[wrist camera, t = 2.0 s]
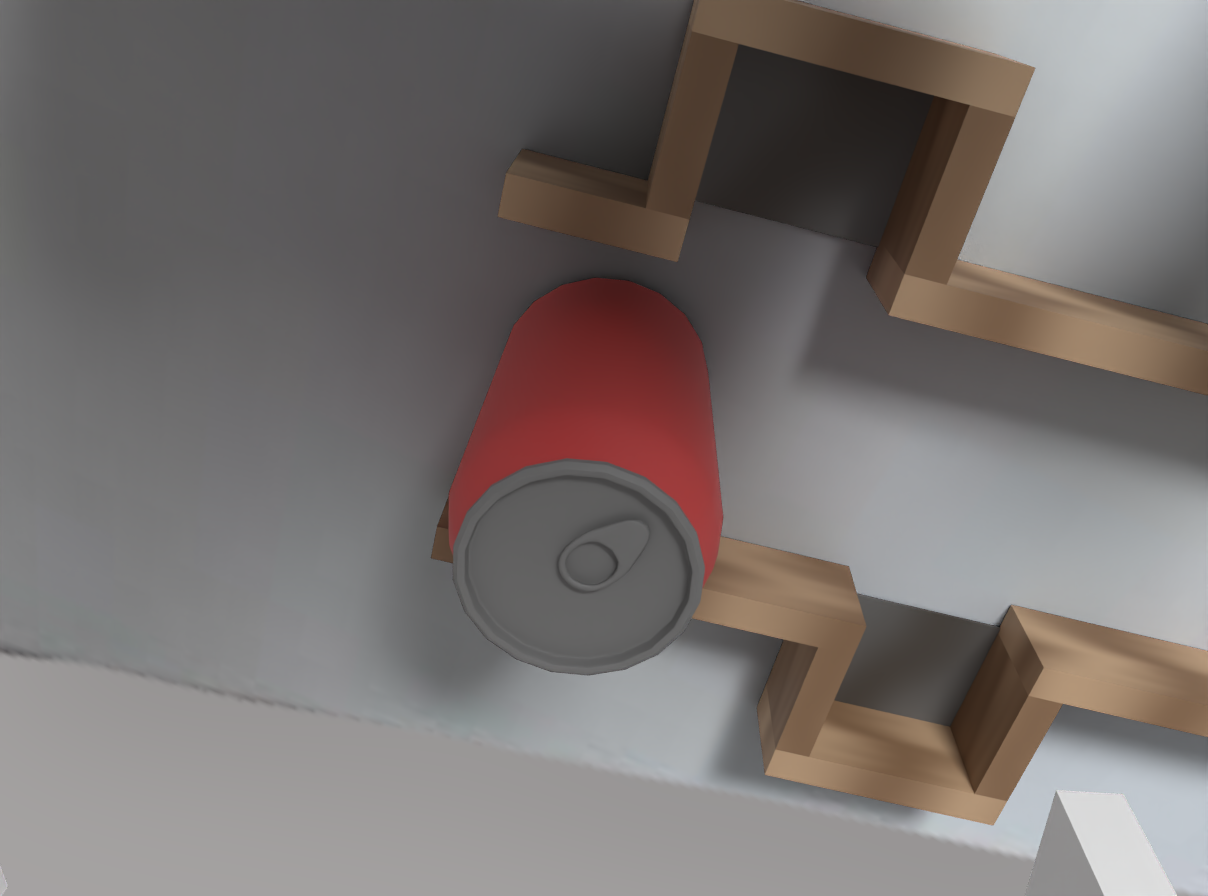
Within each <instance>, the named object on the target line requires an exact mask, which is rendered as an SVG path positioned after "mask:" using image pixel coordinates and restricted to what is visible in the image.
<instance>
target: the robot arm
mask: <svg viewBox="0 0 1208 896" xmlns="http://www.w3.org/2000/svg"><path fill="white" fill-rule="evenodd" d="M7 888H8V885H7V882H6V880H5V877H4V874H3V871H2V868H1V865H0V896H2V895H3V893H4V892H5V890H6V889H7ZM1025 896H1177V894H1176V892H1175V891H1174V889H1173V887H1172V885H1171V883H1170V881H1169V879H1168V877H1167V875H1166V874H1165V872H1164V870H1163V868H1162V866H1161V864H1160V862H1159V860H1158V858H1157V857H1156V855H1155V853H1154V851H1153V849H1152V847H1151V845H1150V843H1149V841H1148V840H1147V838H1146V836H1145V834H1144V832H1143V830H1142V828H1141V826H1140V824H1139V823H1138V821H1137V819H1136V817H1135V815H1134V813H1133V811H1132V809H1131V807H1130V806H1129V804H1128V802H1127V800H1126V798H1125V796H1124V794H1114V793H1097V792H1079V791H1062V790H1056V793H1055V796H1054V799H1053V803H1052V806H1051V809H1050V813H1049V816H1048V819H1047V823H1046V826H1045V829H1044V833H1043V836H1042V839H1041V843H1040V846H1039V849H1038V853H1037V856H1036V859H1035V863H1034V866H1033V869H1032V873H1031V876H1030V879H1029V883H1028V886H1027V889H1026V893H1025Z"/></svg>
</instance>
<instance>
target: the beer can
mask: <svg viewBox="0 0 1208 896" xmlns="http://www.w3.org/2000/svg"><path fill="white" fill-rule="evenodd" d="M722 523H723V510H722V501H721V491H720V482H719V472H718V462H717V453H716V443H715V434H714V424H713V414H712V405H711V395H710V386H709V376H708V369H707V365H706V360H705V355H704V351H703V346H702V342H701V340H700V339H699V337H698V335H697V334H696V332H695V330H694V329H693V327H692V325H691V324H690V322H689V320H688V319H687V317H686V315H685V314H684V313H682V312H681V311H680V310H679V309H678V308H677V307H675V306H674V305H673V304H672V303H671V302H669V301H668V300H667V299H666V298H665V297H664V296H662V295H661V294H660V293H658V292H655V291H653V290H650V289H648V288H645V287H643V286H641V285H638V284H636V283H633V282H631V281H627V280H616V279H605V278H591V279H587V280H582V281H578V282H573V283H569V284H564V285H561V286H560V287H558V288H556V289H555V290H553V291H551V292H549V293H548V294H546V295H544V296H543V297H541V298H539V299H538V300H536V301H534V302H533V303H532V305H531V306H530V307H529V308H528V309H527V310H526V312H525V313H524V314H523V315H522V316H521V317H520V319H519V320H518V321H517V322H516V323H515V324H514V326H513V328H512V331H511V333H510V336H509V338H508V341H507V344H506V346H505V349H504V351H503V354H502V356H501V359H500V361H499V364H498V367H497V369H496V372H495V374H494V377H493V380H492V382H491V385H490V387H489V390H488V393H487V395H486V398H485V400H484V403H483V406H482V408H481V411H480V413H479V416H478V418H477V421H476V424H475V426H474V429H473V431H472V434H471V437H470V439H469V442H468V444H467V447H466V450H465V452H464V455H463V457H462V460H461V463H460V465H459V468H458V470H457V473H456V476H455V478H454V481H453V483H452V486H451V488H450V491H449V546H450V549H451V551H452V554H453V581H454V584H455V587H456V589H457V592H458V595H459V598H460V600H461V603H462V606H463V609H464V611H465V612H466V614H467V615H468V616H469V617H470V619H471V620H472V621H473V622H474V624H475V625H476V626H477V627H478V629H479V630H480V631H481V632H482V634H483V635H484V636H485V637H486V639H488V640H489V641H491V642H492V643H494V644H495V645H496V646H498V647H499V648H501V649H502V650H504V651H505V652H506V653H508V654H509V655H511V656H512V657H514V658H515V659H517V660H520V661H522V662H525V663H528V664H531V665H534V666H536V667H539V668H542V669H545V670H548V671H550V672H558V673H569V674H580V675H594V674H600V673H607V672H613V671H619V670H625V669H628V668H630V667H632V666H634V665H636V664H638V663H641V662H643V661H645V660H647V659H649V658H652V657H654V656H656V655H658V654H659V653H660V652H662V651H663V650H664V649H665V648H666V647H667V646H668V645H669V644H670V643H672V642H673V641H674V640H675V639H676V638H677V637H678V636H679V635H681V634H682V633H683V632H684V631H685V629H686V627H687V625H688V623H689V622H690V620H691V618H692V616H693V614H694V613H695V611H696V609H697V607H698V605H699V604H700V601H701V594H702V588H703V587H704V585H705V583H706V581H707V579H708V578H709V576H710V574H711V572H712V570H713V568H714V565H715V562H716V559H717V556H718V550H719V543H720V536H721V530H722Z"/></svg>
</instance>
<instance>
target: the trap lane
mask: <svg viewBox="0 0 1208 896" xmlns="http://www.w3.org/2000/svg"><path fill="white" fill-rule="evenodd" d="M1034 70H1035V68H1034V67H1031V66H1029V65H1026V64H1023V63H1020V62H1017V61H1014V60H1011V59H1009V58H1006V57H1003V56H1000V55H997V54H994V53H990V52H987V51H983V50H979V49H976V48H972V47H968V46H964V45H961V44H957V43H953V42H950V41H946V40H942V39H938V38H935V37H931V36H927V35H923V34H920V33H916V32H912V31H909V30H905V29H901V28H897V27H894V26H890V25H886V24H883V23H879V22H875V21H871V20H868V19H864V18H860V17H857V16H853V15H849V14H845V13H842V12H838V11H834V10H831V9H827V8H823V7H819V6H816V5H812V4H808V3H805V2H801V1H797V0H694V3H693V7H692V10H691V14H690V18H689V22H688V26H687V30H686V34H685V38H684V41H683V45H682V49H681V53H680V57H679V61H678V65H677V69H676V72H675V76H674V80H673V84H672V88H671V92H670V96H669V100H668V103H667V107H666V111H665V115H664V119H663V123H662V127H661V131H660V134H659V138H658V142H657V146H656V150H655V154H654V158H653V162H652V166H651V169H650V173H649V177H648V181H647V180H643V179H639V178H635V177H632V176H628V175H624V174H620V173H616V172H612V171H608V170H604V169H600V168H596V167H592V166H589V165H585V164H581V163H577V162H573V161H569V160H565V159H561V158H557V157H553V156H549V155H546V154H542V153H538V152H534V151H530V150H526V149H522V150H521V151H520V153H519V154H518V156H517V157H516V159H515V160H514V162H513V163H512V165H511V166H510V168H509V169H508V171H507V172H506V176H505V181H504V186H503V191H502V196H501V201H500V206H499V212H498V217H500V218H504V219H508V220H512V221H516V222H520V223H524V224H528V225H532V226H536V227H540V228H543V229H547V230H551V231H555V232H559V233H563V234H567V235H571V236H575V237H579V238H583V239H587V240H591V241H595V242H599V243H603V244H607V245H611V246H615V247H619V248H623V249H627V250H631V251H635V252H639V253H643V254H647V255H651V256H655V257H659V258H663V259H667V260H671V261H675V262H678V259H679V255H680V252H681V248H682V244H683V241H684V237H685V234H686V230H687V227H688V223H689V220H690V216H691V212H692V209H693V205H694V202H695V201H699V202H703V203H707V204H711V205H715V206H718V207H722V208H726V209H730V210H734V211H738V212H742V213H746V214H750V215H754V216H758V217H762V218H765V219H769V220H773V221H777V222H781V223H785V224H789V225H793V226H797V227H801V228H805V229H809V230H812V231H816V232H820V233H824V234H828V235H832V236H836V237H840V238H844V239H848V240H852V241H856V242H859V243H863V244H867V245H871V246H875V247H877V249H876V252H875V255H874V257H873V260H872V263H871V266H870V268H869V271H868V274H867V276H866V278H867V280H868V282H869V283H870V285H871V287H872V288H873V290H874V292H875V293H876V295H877V297H878V298H879V300H880V302H881V303H882V305H883V307H884V308H885V310H886V312H887V313H888V315H890V316H894V317H898V318H902V319H905V320H909V321H913V322H917V323H921V324H925V325H929V326H933V327H937V328H941V329H945V330H949V331H953V332H957V333H961V334H965V335H969V336H973V337H977V338H981V339H985V340H989V341H993V342H997V343H1001V344H1005V345H1009V346H1013V347H1017V348H1021V349H1025V350H1029V351H1033V352H1037V353H1041V354H1045V355H1049V356H1053V357H1057V358H1061V359H1065V360H1069V361H1073V362H1077V363H1081V364H1084V365H1088V366H1092V367H1096V368H1100V369H1104V370H1108V371H1112V372H1116V373H1120V374H1124V375H1128V376H1132V377H1136V378H1140V379H1144V380H1148V381H1152V382H1156V383H1160V384H1164V385H1168V386H1172V387H1176V388H1180V389H1184V390H1188V391H1192V392H1196V393H1200V394H1204V395H1208V324H1206V323H1202V322H1198V321H1194V320H1191V319H1187V318H1183V317H1179V316H1175V315H1171V314H1167V313H1163V312H1159V311H1155V310H1151V309H1148V308H1144V307H1140V306H1136V305H1132V304H1128V303H1124V302H1120V301H1116V300H1112V299H1108V298H1105V297H1101V296H1097V295H1093V294H1089V293H1085V292H1081V291H1077V290H1073V289H1069V288H1065V287H1062V286H1058V285H1054V284H1050V283H1046V282H1042V281H1038V280H1034V279H1030V278H1026V277H1022V276H1019V275H1015V274H1011V273H1007V272H1003V271H999V270H995V269H991V268H987V267H983V266H979V265H976V264H972V263H968V262H964V261H960V260H957V259H958V256H959V254H960V251H961V249H962V246H963V244H964V242H965V239H966V237H967V234H968V232H969V229H970V227H971V224H972V222H973V219H974V217H975V215H976V212H977V210H978V207H979V205H980V202H981V200H982V197H983V195H984V193H985V190H986V188H987V185H988V183H989V180H990V178H991V175H992V173H993V171H994V168H995V166H996V163H997V161H998V158H999V156H1000V153H1001V151H1002V148H1003V146H1004V144H1005V141H1006V139H1007V136H1008V134H1009V131H1010V129H1011V126H1012V124H1013V122H1014V119H1015V117H1016V114H1017V112H1018V109H1019V107H1020V104H1021V102H1022V99H1023V97H1024V95H1025V92H1026V90H1027V87H1028V85H1029V82H1030V80H1031V77H1032V75H1033V73H1034ZM431 558H432V559H437V560H441V561H445V562H450V563H453V554H452V551H451V549H450V546H449V497H448V499H447V502H446V505H445V507H444V510H443V512H442V515H441V518H440V520H439V523H438V526H437V529H436V535H435V540H434V545H433V550H432V555H431ZM692 618H693V619H697V620H701V621H706V622H710V623H715V624H719V625H723V626H728V627H732V628H736V629H741V630H745V631H749V632H754V633H758V634H762V635H767V636H771V637H775V638H780V639H784V640H783V643H782V645H781V648H780V650H779V653H778V655H777V658H776V660H775V663H774V665H773V668H772V670H771V673H770V675H769V678H768V680H767V683H766V685H765V688H764V690H763V693H762V695H761V698H760V700H759V703H758V706H757V714H758V722H759V731H760V739H761V747H762V755H763V763H764V772H765V775H768V776H773V777H777V778H782V779H786V780H791V781H795V782H800V783H804V784H809V785H813V786H818V787H822V788H827V789H831V790H836V791H840V792H845V793H849V794H854V795H858V796H863V797H867V798H872V799H876V800H881V801H885V802H890V803H894V804H899V805H903V806H908V807H912V808H917V809H921V810H926V811H930V812H935V813H939V814H944V815H948V816H953V817H957V818H962V819H966V820H971V821H975V822H980V823H984V824H989V825H994V823H995V822H996V820H997V818H998V816H999V815H1000V813H1001V811H1002V809H1003V808H1004V806H1005V804H1006V802H1007V801H1008V799H1009V797H1010V795H1011V794H1012V792H1013V790H1014V788H1015V787H1016V785H1017V783H1018V781H1019V780H1020V778H1021V776H1022V774H1023V773H1024V771H1025V769H1026V767H1027V766H1028V764H1029V762H1030V760H1031V759H1032V757H1033V755H1034V753H1035V752H1036V750H1037V748H1038V747H1039V745H1040V743H1041V741H1042V740H1043V738H1044V736H1045V734H1046V733H1047V731H1048V729H1049V727H1050V726H1051V724H1052V722H1053V720H1054V719H1055V717H1056V715H1057V713H1058V712H1059V710H1060V708H1061V706H1062V705H1063V704H1066V705H1071V706H1075V707H1079V708H1084V709H1088V710H1092V711H1097V712H1101V713H1105V714H1110V715H1114V716H1118V717H1123V718H1127V719H1131V720H1136V721H1140V722H1144V723H1149V724H1153V725H1157V726H1162V727H1166V728H1170V729H1175V730H1179V731H1184V732H1188V733H1192V734H1197V735H1201V736H1205V737H1208V651H1205V650H1201V649H1197V648H1193V647H1188V646H1184V645H1180V644H1176V643H1171V642H1167V641H1163V640H1159V639H1154V638H1150V637H1146V636H1142V635H1137V634H1133V633H1129V632H1125V631H1120V630H1116V629H1112V628H1108V627H1103V626H1099V625H1095V624H1091V623H1087V622H1082V621H1078V620H1074V619H1070V618H1065V617H1061V616H1057V615H1053V614H1048V613H1044V612H1040V611H1036V610H1031V609H1027V608H1023V607H1019V606H1014V605H1011V606H1010V608H1009V610H1008V612H1007V614H1006V616H1005V618H1004V620H1003V622H1002V623H1001V625H1000V627H997V626H993V625H989V624H985V623H980V622H976V621H972V620H968V619H963V618H959V617H955V616H950V615H946V614H942V613H938V612H933V611H929V610H925V609H921V608H916V607H912V606H908V605H903V604H899V603H895V602H891V601H886V600H882V599H878V598H874V597H869V596H865V595H861V594H857V593H856V589H855V586H854V582H853V579H852V576H851V572H850V569H849V566H845V565H840V564H836V563H832V562H828V561H823V560H819V559H815V558H811V557H806V556H802V555H798V554H794V553H789V552H785V551H781V550H777V549H772V548H768V547H764V546H760V545H755V544H751V543H747V542H743V541H738V540H734V539H730V538H726V537H721V536H720V543H719V550H718V556H717V559H716V562H715V565H714V568H713V570H712V572H711V574H710V576H709V578H708V579H707V581H706V583H705V585H704V587H703V588H702V594H701V601H700V604H699V605H698V607H697V609H696V611H695V613H694V614H693V616H692Z"/></svg>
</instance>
